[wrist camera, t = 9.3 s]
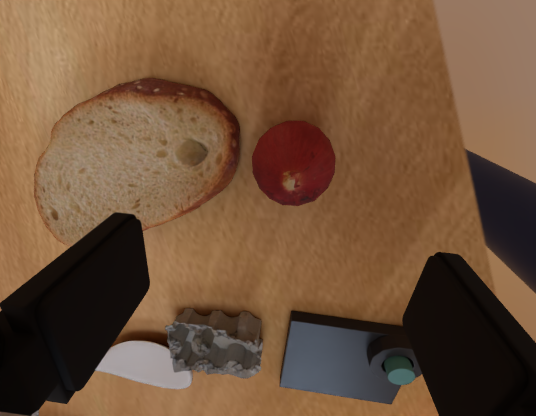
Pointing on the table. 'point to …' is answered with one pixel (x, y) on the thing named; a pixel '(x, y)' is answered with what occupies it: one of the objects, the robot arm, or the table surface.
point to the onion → (293, 163)
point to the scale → (343, 357)
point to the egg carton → (215, 343)
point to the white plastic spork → (144, 364)
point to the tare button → (399, 370)
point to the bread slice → (135, 157)
